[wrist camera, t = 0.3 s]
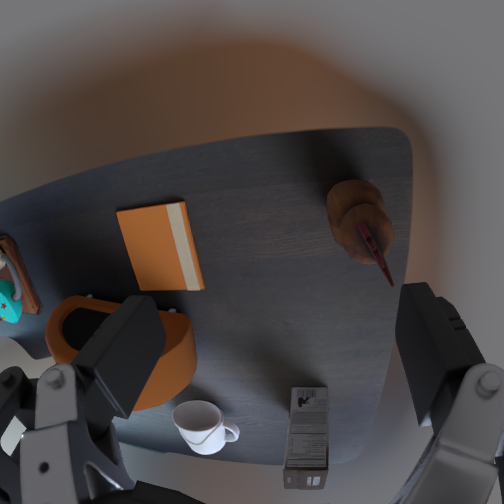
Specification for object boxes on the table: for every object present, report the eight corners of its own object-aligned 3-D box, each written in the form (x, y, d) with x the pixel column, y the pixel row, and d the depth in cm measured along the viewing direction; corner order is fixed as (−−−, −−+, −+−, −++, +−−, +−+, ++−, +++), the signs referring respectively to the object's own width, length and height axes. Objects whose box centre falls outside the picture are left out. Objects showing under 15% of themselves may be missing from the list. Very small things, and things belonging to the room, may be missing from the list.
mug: (190, 421, 56) (180, 450, 49) (178, 396, 53) (165, 427, 45) (244, 427, 54) (238, 459, 47) (238, 402, 50) (230, 437, 43)
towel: (118, 211, 37) (115, 212, 36) (184, 200, 35) (182, 202, 34) (142, 288, 42) (140, 291, 41) (205, 287, 40) (203, 290, 39)
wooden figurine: (377, 226, 33) (420, 299, 19) (330, 234, 34) (346, 313, 21) (370, 169, 30) (420, 211, 17) (319, 177, 31) (334, 226, 18)
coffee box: (325, 414, 49) (323, 490, 35) (290, 414, 50) (283, 489, 36) (329, 385, 45) (330, 471, 31) (290, 386, 46) (282, 471, 32)
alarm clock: (198, 308, 42) (154, 400, 27) (204, 352, 46) (170, 440, 31) (73, 287, 45) (13, 348, 30) (86, 328, 49) (38, 389, 34)
